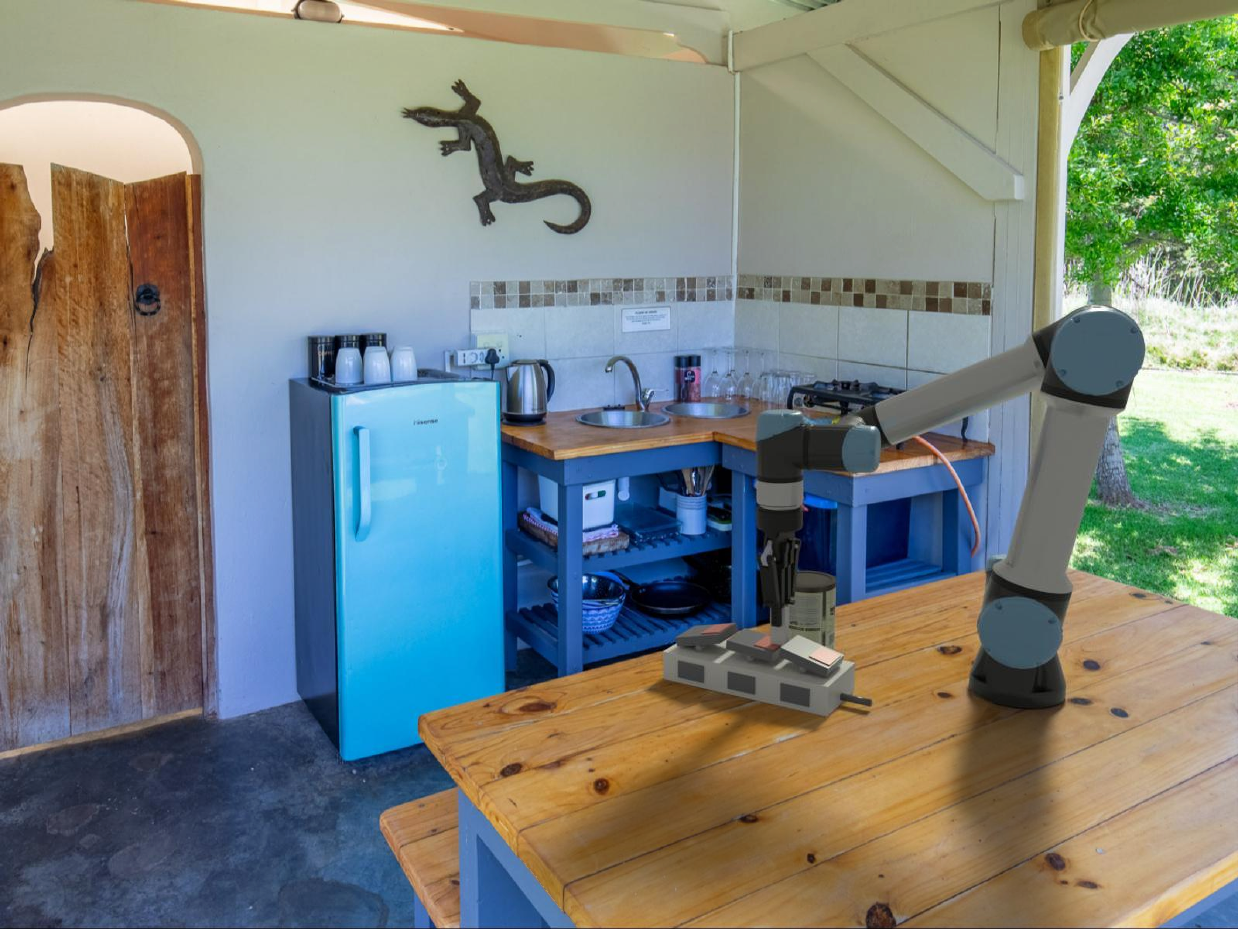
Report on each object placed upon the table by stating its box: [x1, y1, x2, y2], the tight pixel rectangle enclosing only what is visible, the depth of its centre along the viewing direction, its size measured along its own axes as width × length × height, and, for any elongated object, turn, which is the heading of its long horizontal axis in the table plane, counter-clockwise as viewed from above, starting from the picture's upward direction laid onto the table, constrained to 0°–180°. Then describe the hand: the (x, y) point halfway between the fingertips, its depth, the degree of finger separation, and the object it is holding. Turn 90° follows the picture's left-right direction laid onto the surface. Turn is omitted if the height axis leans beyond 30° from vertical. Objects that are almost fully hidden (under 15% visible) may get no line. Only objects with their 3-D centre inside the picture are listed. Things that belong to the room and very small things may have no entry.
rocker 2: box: [726, 627, 790, 662], centre depth 178 cm, size 8×7×2 cm
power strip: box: [662, 637, 873, 717], centre depth 178 cm, size 35×12×6 cm, turn 57°
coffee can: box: [788, 570, 838, 651], centre depth 193 cm, size 10×10×14 cm
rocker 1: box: [674, 622, 739, 647], centre depth 183 cm, size 8×7×2 cm
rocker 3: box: [778, 635, 845, 677], centre depth 173 cm, size 8×7×2 cm
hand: (779, 643), depth 176 cm, fingers closed
